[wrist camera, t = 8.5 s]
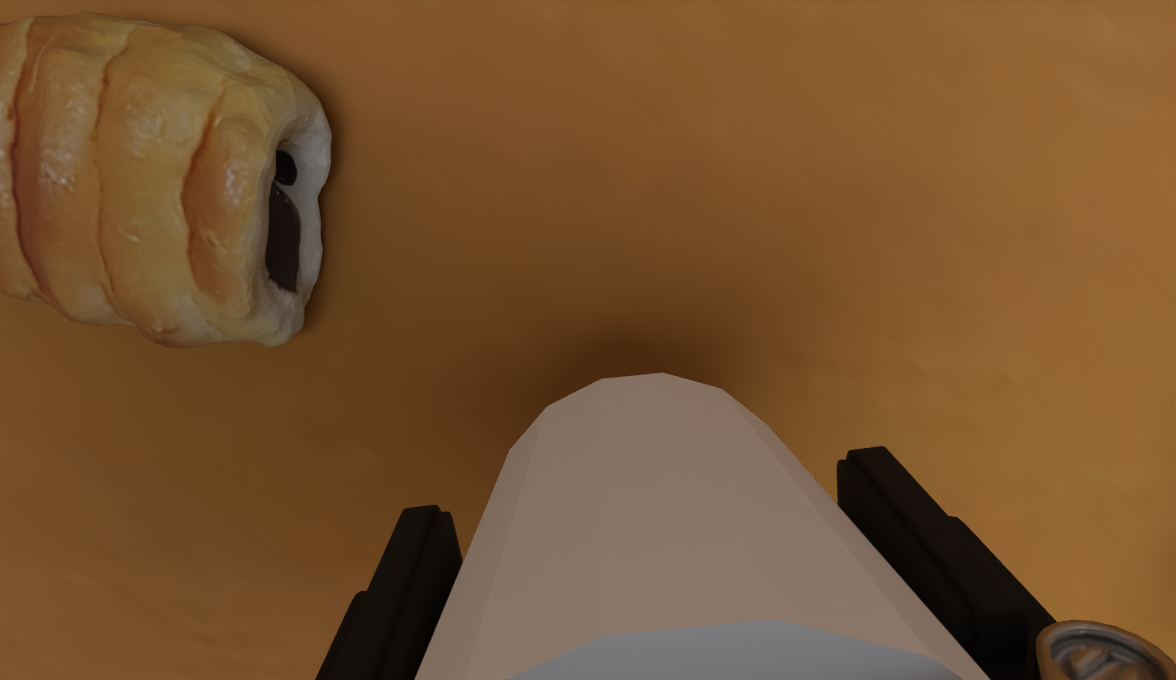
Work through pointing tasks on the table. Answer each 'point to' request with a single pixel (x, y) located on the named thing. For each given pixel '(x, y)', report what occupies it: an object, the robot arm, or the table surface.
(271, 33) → the table surface
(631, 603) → the white tapered tub
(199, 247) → the pastry
